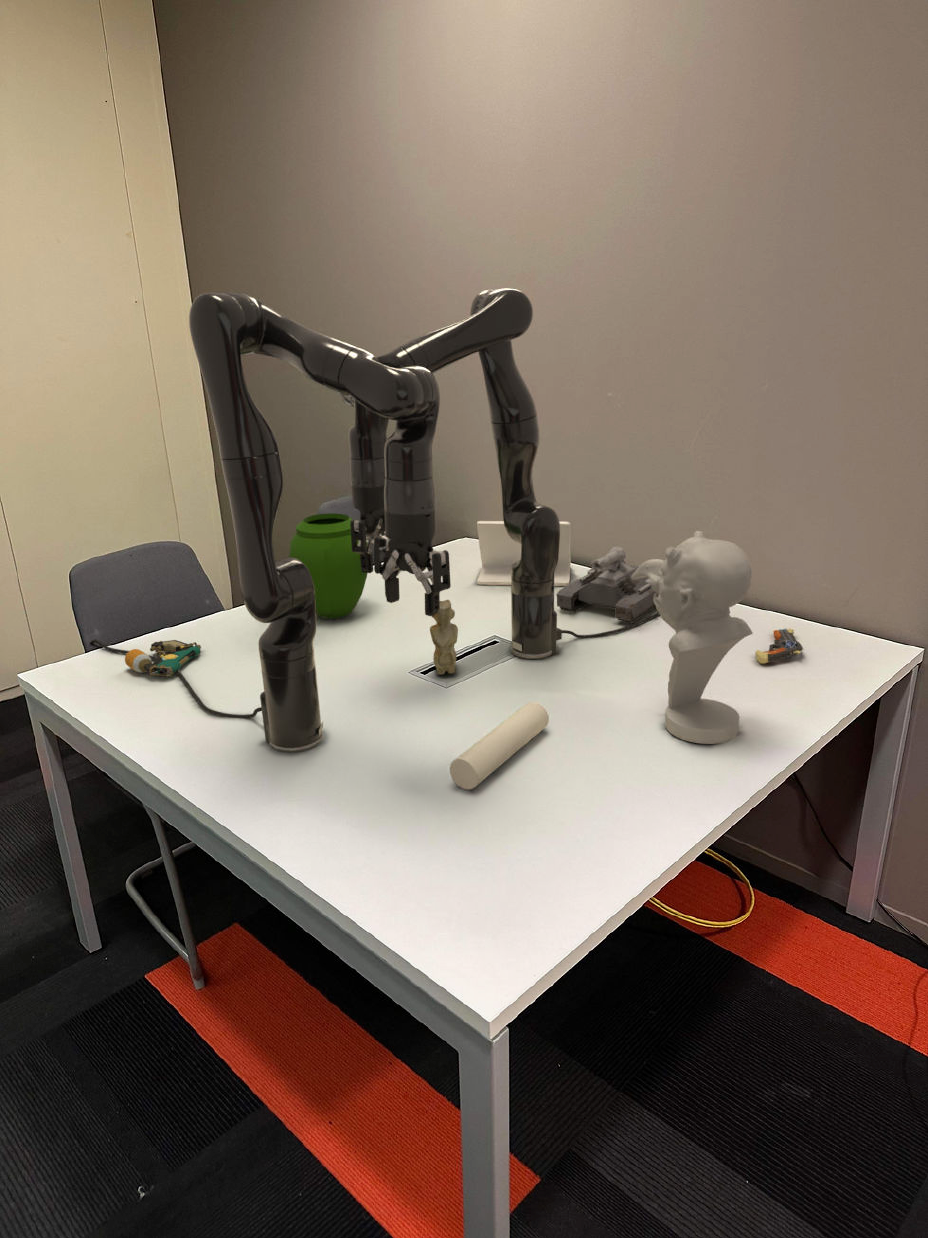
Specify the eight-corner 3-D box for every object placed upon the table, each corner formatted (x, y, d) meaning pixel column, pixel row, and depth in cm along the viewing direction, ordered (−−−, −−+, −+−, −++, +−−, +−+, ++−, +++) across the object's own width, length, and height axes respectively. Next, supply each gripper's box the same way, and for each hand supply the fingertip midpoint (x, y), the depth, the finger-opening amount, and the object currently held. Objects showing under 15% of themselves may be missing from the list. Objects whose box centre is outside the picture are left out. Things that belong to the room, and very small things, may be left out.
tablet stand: (569, 585, 229) (570, 524, 223) (476, 584, 232) (475, 523, 226) (570, 566, 246) (571, 508, 240) (484, 564, 249) (483, 507, 243)
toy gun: (758, 654, 176) (809, 651, 174) (746, 627, 194) (792, 624, 192) (758, 667, 177) (809, 664, 175) (747, 638, 195) (793, 635, 193)
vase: (389, 608, 216) (383, 514, 208) (339, 633, 201) (330, 533, 192) (330, 596, 226) (322, 506, 218) (278, 619, 211) (267, 523, 202)
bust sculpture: (671, 682, 170) (682, 511, 158) (763, 732, 151) (784, 540, 138) (606, 701, 164) (613, 523, 151) (694, 755, 144) (709, 555, 131)
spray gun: (168, 648, 197) (219, 659, 191) (111, 671, 183) (165, 685, 177) (166, 630, 196) (218, 641, 190) (109, 653, 181) (164, 665, 176)
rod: (523, 725, 156) (522, 699, 154) (548, 732, 153) (549, 705, 151) (450, 784, 138) (449, 755, 136) (477, 793, 135) (477, 764, 133)
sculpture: (458, 662, 183) (456, 596, 178) (460, 676, 176) (457, 608, 171) (431, 663, 183) (428, 597, 177) (431, 677, 176) (428, 609, 171)
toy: (603, 584, 229) (605, 530, 224) (673, 597, 218) (677, 540, 213) (555, 612, 210) (556, 553, 205) (630, 627, 199) (633, 566, 194)
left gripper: (358, 503, 129) (363, 603, 135) (426, 519, 120) (428, 626, 126) (394, 494, 134) (397, 591, 140) (461, 509, 125) (462, 612, 131)
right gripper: (371, 490, 148) (378, 578, 154) (407, 474, 161) (412, 556, 167) (333, 488, 151) (342, 575, 157) (371, 472, 163) (378, 553, 169)
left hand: (412, 607), depth 133 cm, fingers open, 8 cm apart
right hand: (378, 565), depth 162 cm, fingers open, 8 cm apart
